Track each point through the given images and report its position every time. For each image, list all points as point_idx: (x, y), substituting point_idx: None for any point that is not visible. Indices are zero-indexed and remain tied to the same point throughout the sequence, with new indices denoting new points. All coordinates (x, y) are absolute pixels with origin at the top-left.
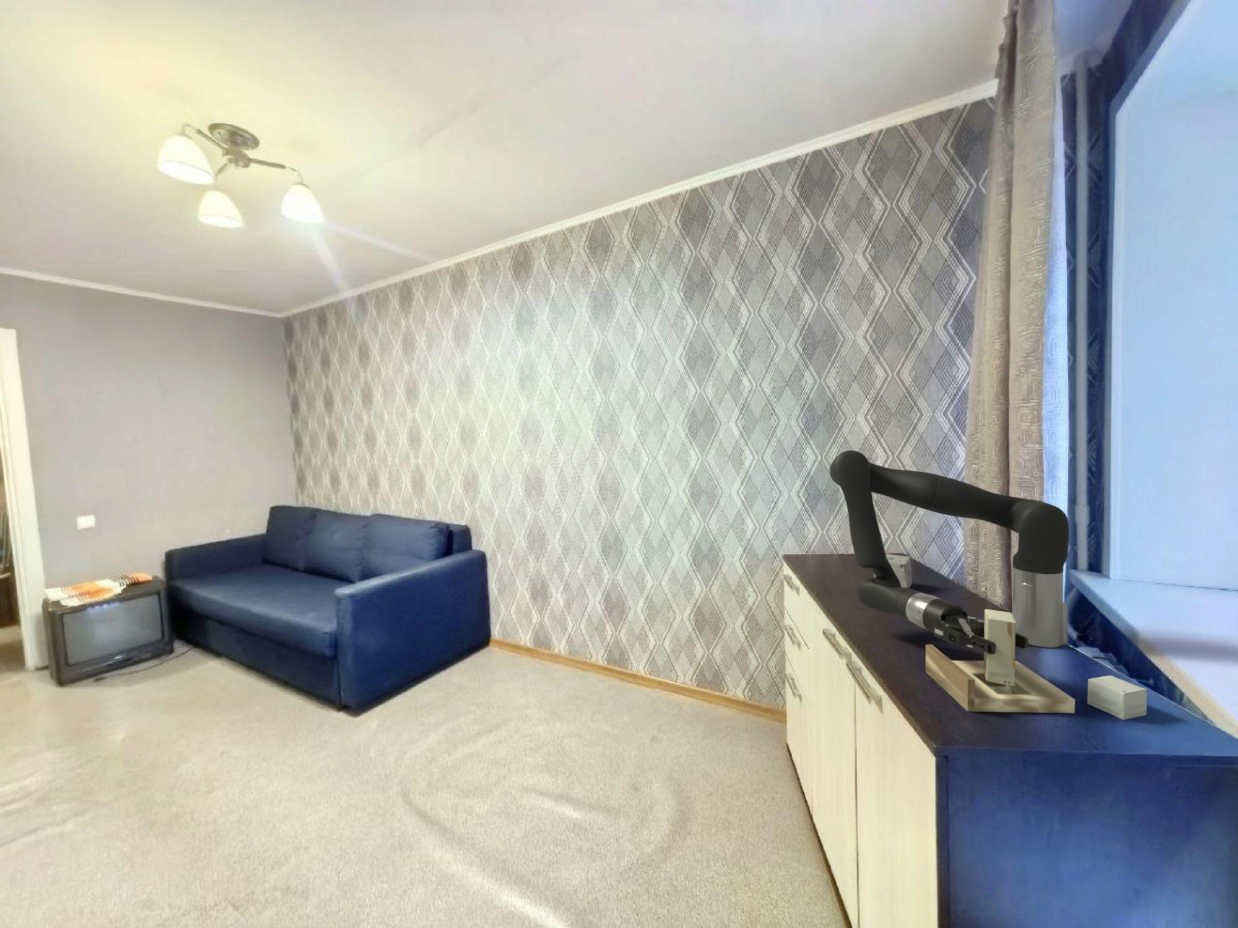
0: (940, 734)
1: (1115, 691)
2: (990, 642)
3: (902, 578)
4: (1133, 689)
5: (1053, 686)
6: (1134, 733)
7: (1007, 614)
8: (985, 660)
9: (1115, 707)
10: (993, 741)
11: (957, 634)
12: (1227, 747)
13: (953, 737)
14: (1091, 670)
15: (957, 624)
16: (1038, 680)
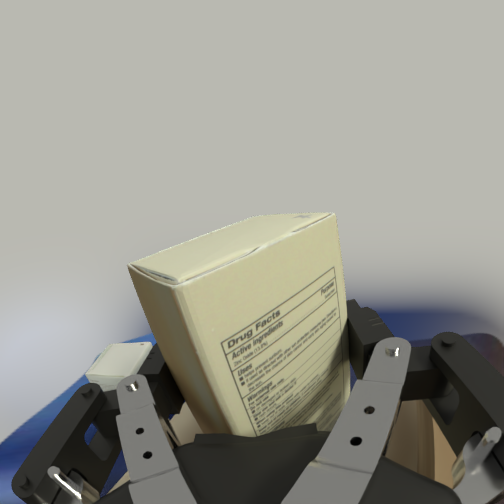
0: (491, 346)
1: (147, 350)
2: (354, 301)
3: None
4: (123, 345)
5: (173, 421)
6: None
7: (176, 248)
8: (327, 426)
9: None
10: (424, 345)
11: (462, 337)
12: (149, 334)
13: (476, 344)
14: (17, 446)
15: (374, 496)
16: None
